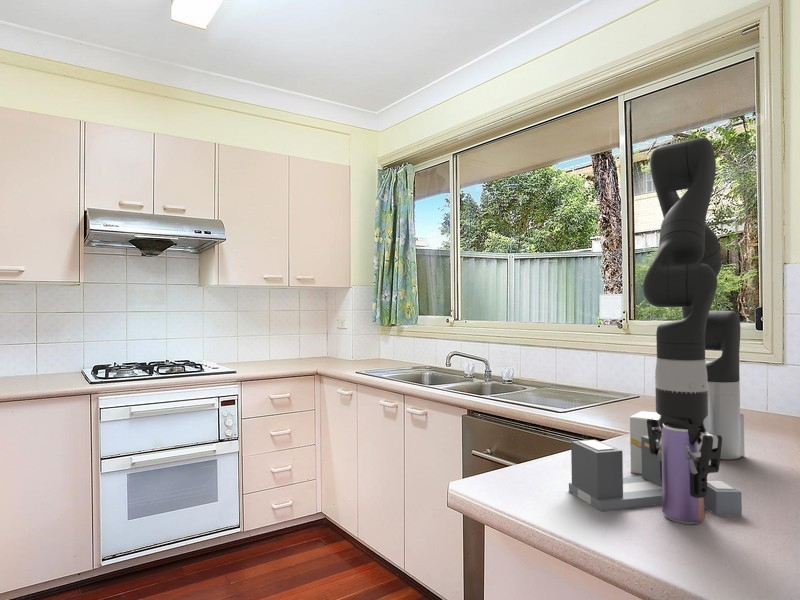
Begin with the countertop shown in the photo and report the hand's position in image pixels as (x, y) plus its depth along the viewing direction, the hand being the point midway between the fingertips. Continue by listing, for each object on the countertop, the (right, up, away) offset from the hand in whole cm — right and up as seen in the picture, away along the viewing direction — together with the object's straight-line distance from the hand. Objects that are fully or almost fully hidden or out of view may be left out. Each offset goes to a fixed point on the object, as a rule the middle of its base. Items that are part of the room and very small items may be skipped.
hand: (682, 489), depth 86 cm
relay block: (+8, -5, +4) cm, 10 cm away
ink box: (+8, -5, +24) cm, 26 cm away
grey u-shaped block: (-3, -5, +10) cm, 12 cm away
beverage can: (0, -5, 0) cm, 5 cm away
